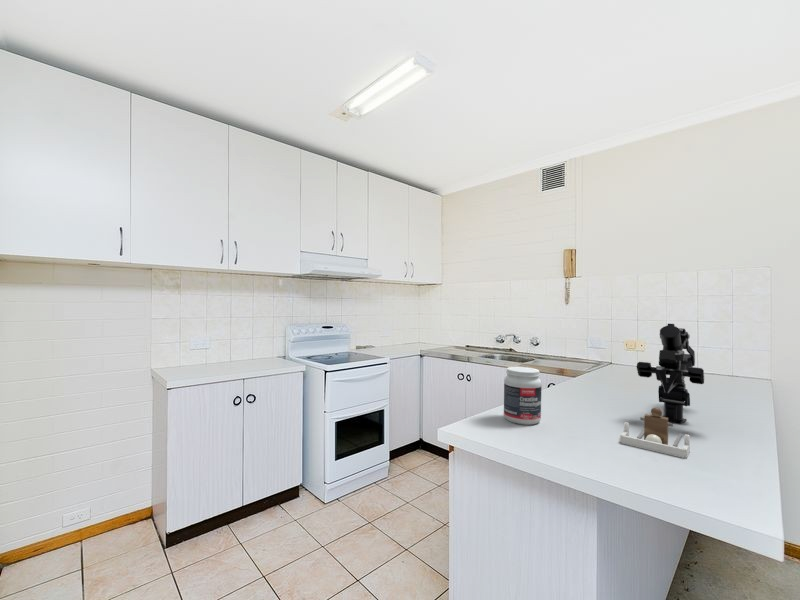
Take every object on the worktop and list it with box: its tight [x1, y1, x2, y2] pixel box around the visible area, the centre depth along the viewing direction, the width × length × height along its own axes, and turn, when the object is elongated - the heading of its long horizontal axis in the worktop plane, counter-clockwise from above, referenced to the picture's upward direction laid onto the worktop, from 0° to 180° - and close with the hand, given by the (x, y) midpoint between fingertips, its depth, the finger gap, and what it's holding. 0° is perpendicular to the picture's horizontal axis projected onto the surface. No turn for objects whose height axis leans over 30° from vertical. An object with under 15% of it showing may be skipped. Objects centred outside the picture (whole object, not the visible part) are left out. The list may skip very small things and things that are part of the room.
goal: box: [619, 421, 691, 459], centre depth 110 cm, size 7×16×5 cm, turn 47°
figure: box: [639, 407, 674, 445], centre depth 112 cm, size 4×8×11 cm, turn 47°
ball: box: [645, 434, 662, 444], centre depth 110 cm, size 4×4×4 cm
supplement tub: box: [503, 366, 543, 426], centre depth 136 cm, size 13×13×18 cm
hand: (666, 392), depth 126 cm, fingers closed
